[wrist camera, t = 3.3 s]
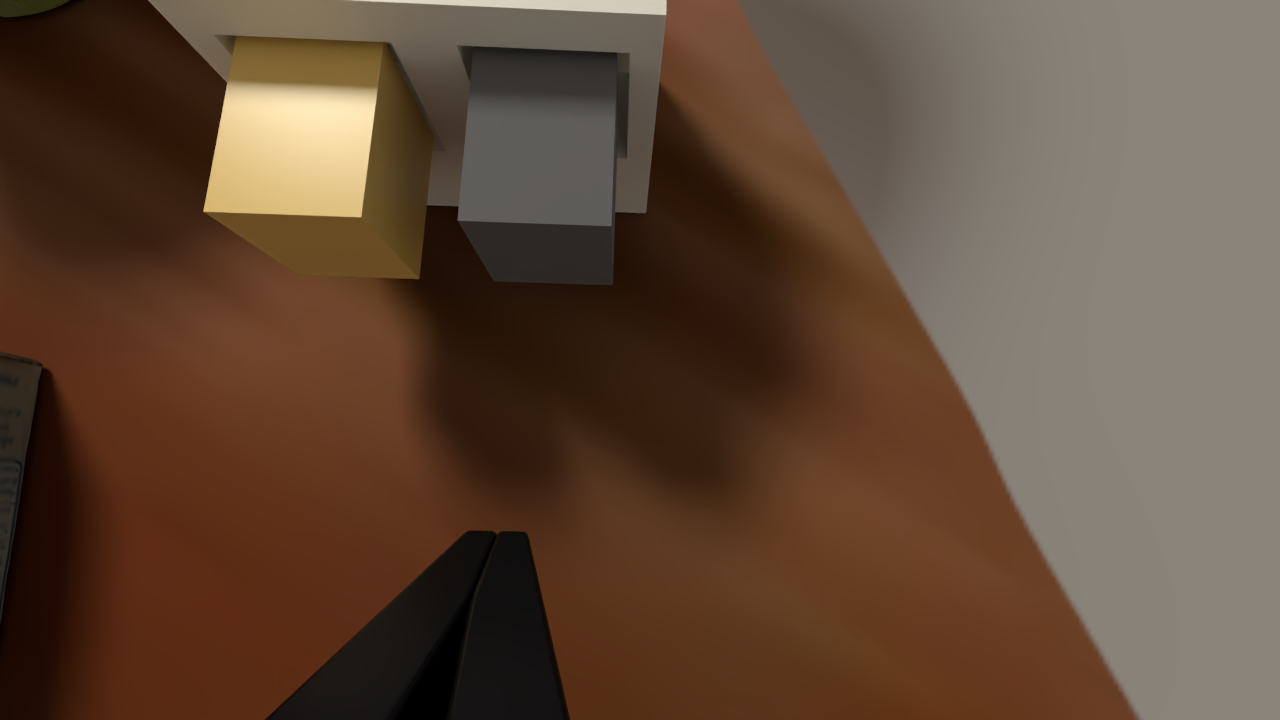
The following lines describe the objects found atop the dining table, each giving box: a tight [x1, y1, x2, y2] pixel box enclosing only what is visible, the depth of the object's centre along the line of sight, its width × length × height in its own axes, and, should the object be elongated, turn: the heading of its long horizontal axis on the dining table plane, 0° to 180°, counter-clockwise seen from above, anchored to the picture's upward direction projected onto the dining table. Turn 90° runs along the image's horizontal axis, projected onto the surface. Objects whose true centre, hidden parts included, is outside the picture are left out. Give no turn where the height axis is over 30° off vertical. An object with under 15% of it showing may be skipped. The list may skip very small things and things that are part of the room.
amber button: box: [203, 36, 434, 279], centre depth 16 cm, size 4×3×4 cm
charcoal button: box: [458, 46, 617, 285], centre depth 16 cm, size 4×3×4 cm
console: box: [148, 0, 666, 213], centre depth 18 cm, size 6×11×10 cm, turn 89°
